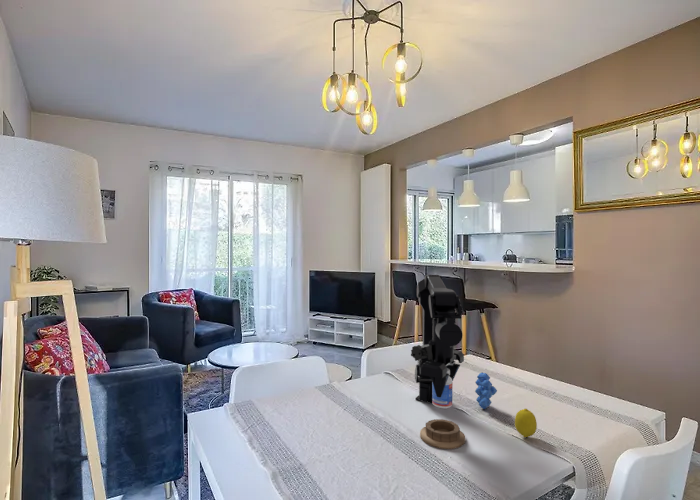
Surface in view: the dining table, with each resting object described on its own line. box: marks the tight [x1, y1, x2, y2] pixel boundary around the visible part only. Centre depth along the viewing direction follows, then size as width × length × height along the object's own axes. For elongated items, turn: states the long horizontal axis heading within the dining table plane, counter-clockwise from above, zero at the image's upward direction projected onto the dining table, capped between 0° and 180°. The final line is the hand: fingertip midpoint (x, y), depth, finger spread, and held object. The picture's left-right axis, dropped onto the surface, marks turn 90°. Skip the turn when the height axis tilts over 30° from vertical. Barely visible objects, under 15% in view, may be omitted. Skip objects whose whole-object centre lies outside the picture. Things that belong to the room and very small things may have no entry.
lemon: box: [514, 408, 538, 438], centre depth 110 cm, size 6×6×8 cm
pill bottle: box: [431, 368, 453, 409], centre depth 110 cm, size 6×5×10 cm
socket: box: [419, 418, 466, 450], centre depth 110 cm, size 12×12×3 cm
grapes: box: [474, 372, 498, 410], centre depth 130 cm, size 12×7×12 cm, turn 177°
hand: (442, 393), depth 110 cm, fingers closed on pill bottle, 5 cm apart
